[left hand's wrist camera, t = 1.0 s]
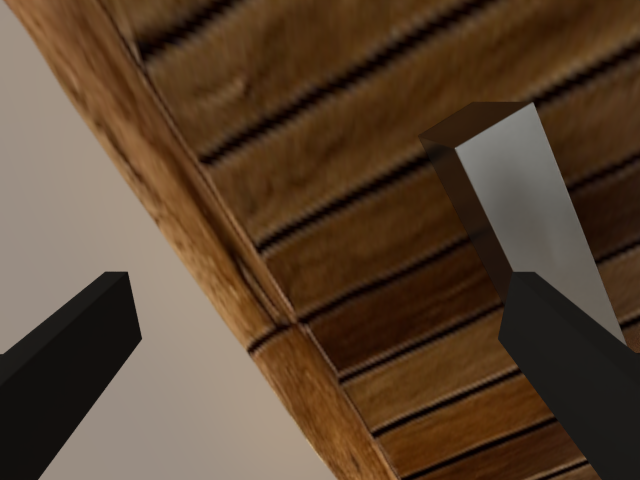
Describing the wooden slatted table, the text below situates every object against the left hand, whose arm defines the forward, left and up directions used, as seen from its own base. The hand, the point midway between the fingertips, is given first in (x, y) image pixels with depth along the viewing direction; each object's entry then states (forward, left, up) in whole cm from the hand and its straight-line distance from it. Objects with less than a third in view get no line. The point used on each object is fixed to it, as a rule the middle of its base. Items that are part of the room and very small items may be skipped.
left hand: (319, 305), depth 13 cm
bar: (-11, +12, -19) cm, 25 cm away
